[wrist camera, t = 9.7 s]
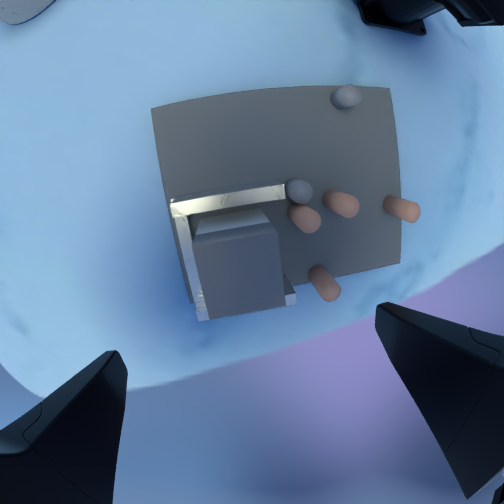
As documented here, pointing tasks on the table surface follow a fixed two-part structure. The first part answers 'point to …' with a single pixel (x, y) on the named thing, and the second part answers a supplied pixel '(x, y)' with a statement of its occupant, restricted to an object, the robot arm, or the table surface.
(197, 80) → the table surface
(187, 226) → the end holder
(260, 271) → the block
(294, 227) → the mat
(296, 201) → the pegs
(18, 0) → the teacup with lid
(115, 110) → the table surface
